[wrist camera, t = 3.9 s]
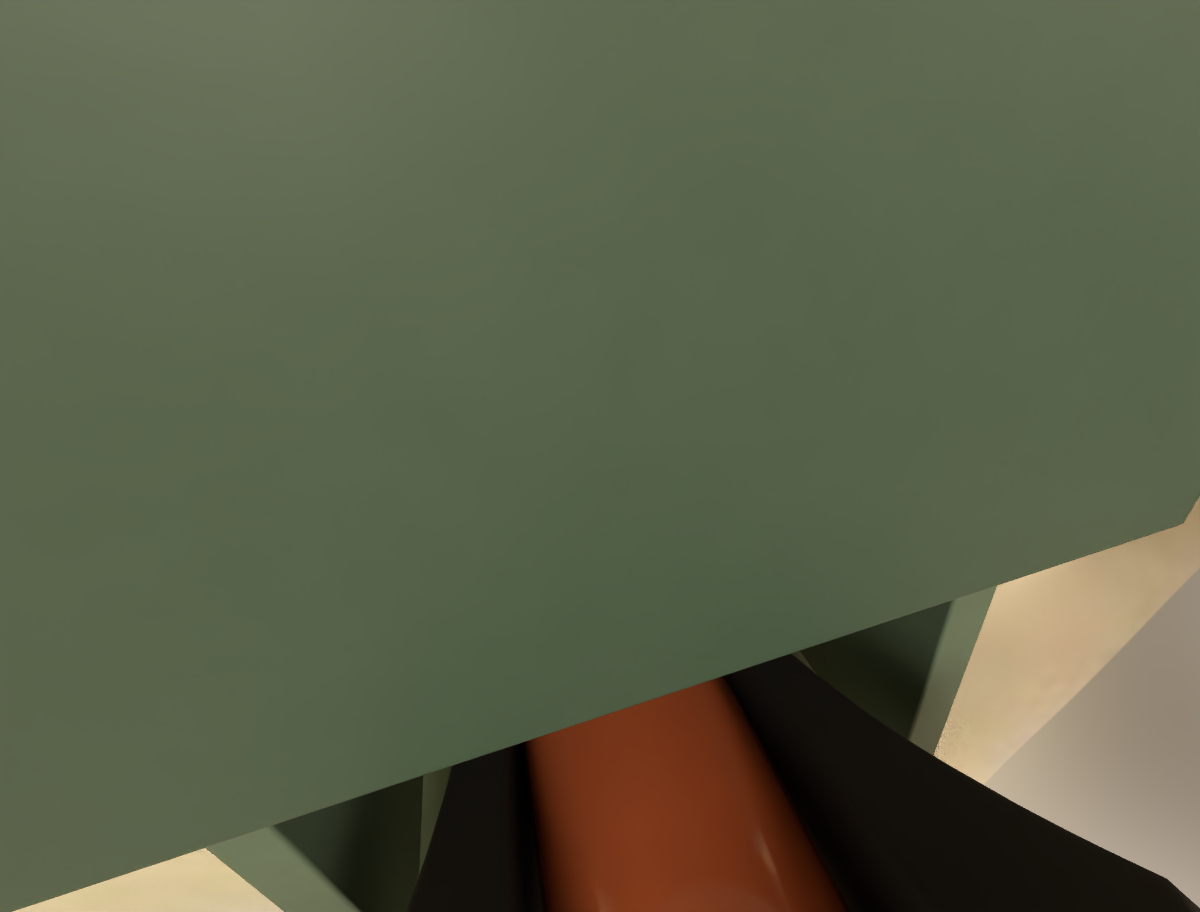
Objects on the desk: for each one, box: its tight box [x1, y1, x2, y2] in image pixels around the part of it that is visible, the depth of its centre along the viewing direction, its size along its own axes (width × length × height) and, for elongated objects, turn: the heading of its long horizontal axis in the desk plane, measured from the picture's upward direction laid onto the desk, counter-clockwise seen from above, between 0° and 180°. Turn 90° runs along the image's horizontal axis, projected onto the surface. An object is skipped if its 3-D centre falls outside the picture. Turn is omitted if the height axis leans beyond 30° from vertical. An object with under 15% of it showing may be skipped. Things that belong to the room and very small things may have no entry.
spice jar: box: [522, 676, 852, 912], centre depth 9 cm, size 4×4×8 cm
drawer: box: [206, 586, 997, 912], centre depth 12 cm, size 15×13×6 cm
